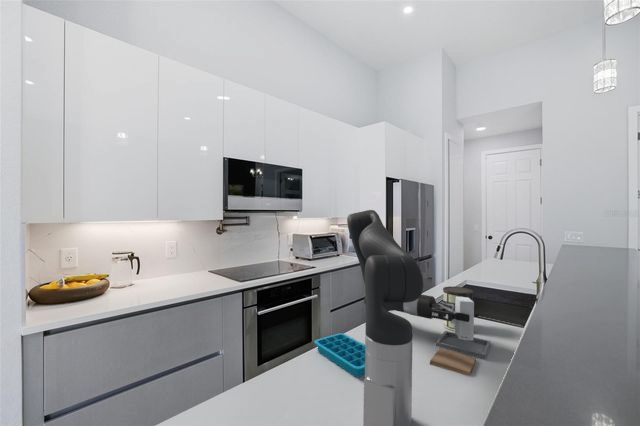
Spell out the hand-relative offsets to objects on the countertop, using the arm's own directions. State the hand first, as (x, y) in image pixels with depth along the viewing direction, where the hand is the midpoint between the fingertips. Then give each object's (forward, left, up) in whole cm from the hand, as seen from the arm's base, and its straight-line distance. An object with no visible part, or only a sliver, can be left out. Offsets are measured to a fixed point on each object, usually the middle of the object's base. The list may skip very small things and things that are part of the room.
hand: (471, 315), depth 93 cm
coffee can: (+16, +7, -10) cm, 21 cm away
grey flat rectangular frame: (0, +2, -10) cm, 10 cm away
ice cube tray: (-30, +27, -11) cm, 42 cm away
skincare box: (0, +2, -7) cm, 8 cm away
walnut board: (-14, +2, -10) cm, 17 cm away
